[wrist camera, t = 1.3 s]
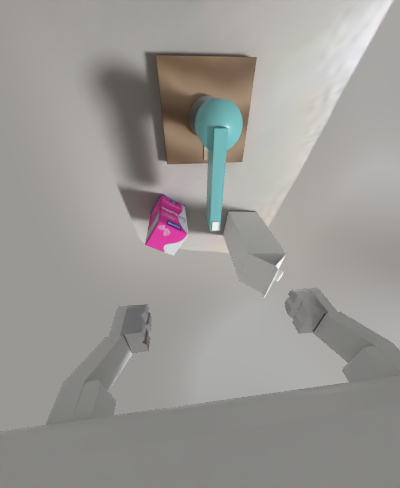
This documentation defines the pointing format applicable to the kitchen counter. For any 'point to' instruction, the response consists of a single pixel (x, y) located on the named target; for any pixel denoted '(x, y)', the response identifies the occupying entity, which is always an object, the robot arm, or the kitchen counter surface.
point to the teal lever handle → (217, 148)
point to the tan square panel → (201, 100)
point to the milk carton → (253, 250)
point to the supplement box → (167, 226)
